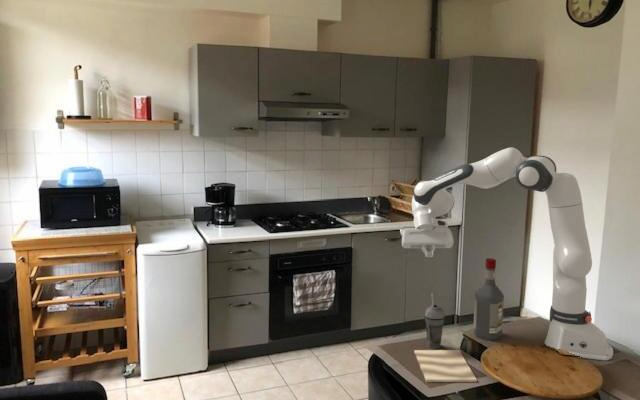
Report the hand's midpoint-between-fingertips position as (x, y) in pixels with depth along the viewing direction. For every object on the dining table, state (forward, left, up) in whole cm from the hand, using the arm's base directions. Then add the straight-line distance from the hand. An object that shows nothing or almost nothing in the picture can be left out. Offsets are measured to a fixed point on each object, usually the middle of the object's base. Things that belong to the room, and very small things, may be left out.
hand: (429, 256), depth 213 cm
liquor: (-22, -4, -30) cm, 37 cm away
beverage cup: (-8, +15, -30) cm, 34 cm away
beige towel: (-16, +29, -29) cm, 44 cm away
